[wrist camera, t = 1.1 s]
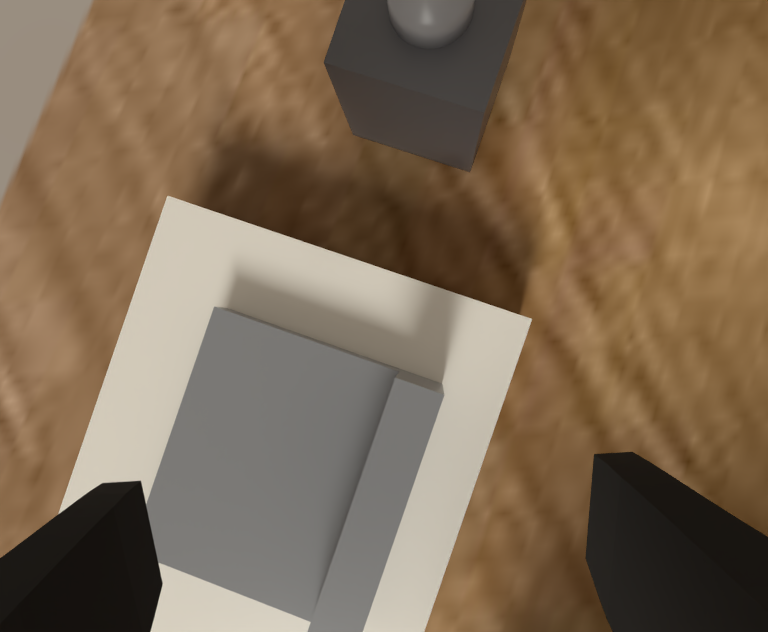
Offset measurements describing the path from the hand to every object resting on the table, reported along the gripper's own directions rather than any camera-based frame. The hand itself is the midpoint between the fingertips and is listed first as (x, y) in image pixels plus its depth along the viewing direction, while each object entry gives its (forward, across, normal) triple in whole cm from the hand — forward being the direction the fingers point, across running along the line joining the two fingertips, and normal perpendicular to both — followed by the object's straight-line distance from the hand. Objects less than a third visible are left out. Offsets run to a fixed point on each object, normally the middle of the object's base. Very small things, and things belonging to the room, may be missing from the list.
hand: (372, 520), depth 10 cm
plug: (+13, -2, -6) cm, 15 cm away
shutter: (+7, +2, +3) cm, 8 cm away
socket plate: (+9, +2, +4) cm, 11 cm away
